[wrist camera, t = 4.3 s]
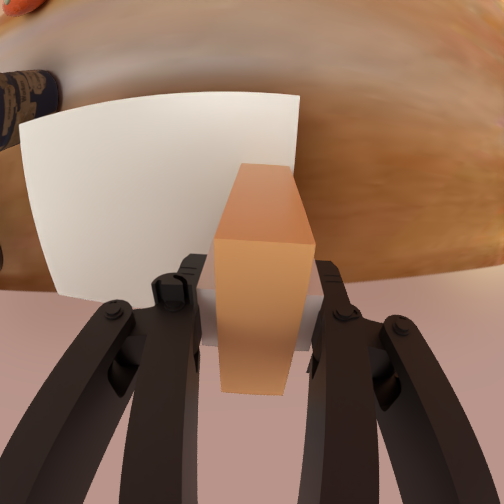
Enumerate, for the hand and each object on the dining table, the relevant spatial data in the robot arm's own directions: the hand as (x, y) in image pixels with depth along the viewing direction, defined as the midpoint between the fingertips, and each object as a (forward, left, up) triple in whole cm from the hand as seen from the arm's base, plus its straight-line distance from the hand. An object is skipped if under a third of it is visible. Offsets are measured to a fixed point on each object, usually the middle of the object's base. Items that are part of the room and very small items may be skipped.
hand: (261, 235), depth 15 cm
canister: (-30, +10, -16) cm, 35 cm away
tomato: (-32, +28, -16) cm, 45 cm away
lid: (-8, 0, -4) cm, 9 cm away
